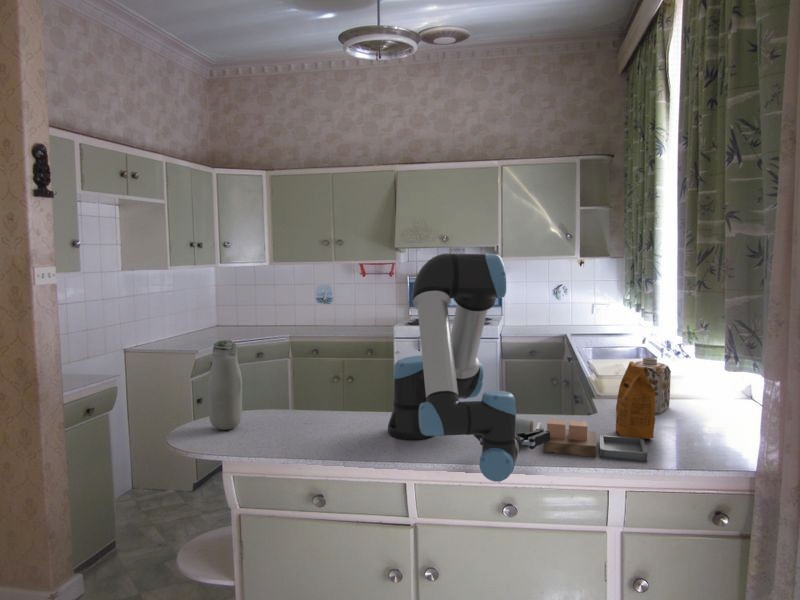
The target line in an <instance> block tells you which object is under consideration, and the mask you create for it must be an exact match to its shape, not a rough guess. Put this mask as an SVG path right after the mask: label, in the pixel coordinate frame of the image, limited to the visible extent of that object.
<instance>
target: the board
mask: <svg viewBox="0 0 800 600" xmlns="http://www.w3.org/2000/svg"><path fill="white" fill-rule="evenodd" d="M548 452H554V453H553V454H559V453H562V454H561V455H568V456H569V455H570V456H583V457H584V456H585V457H592V458H593V457H594V458H596V457H597V431H590V430H587V441H586V440H574V439H569V429H567V428H566V435H565V439H563V438H551V437H550V441H548V442H546V443H543V453H548Z"/></svg>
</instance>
